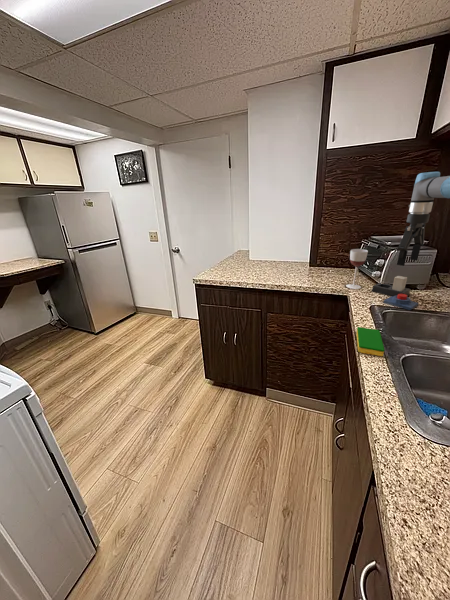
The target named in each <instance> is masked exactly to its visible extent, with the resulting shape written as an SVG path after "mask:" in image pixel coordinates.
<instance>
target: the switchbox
mask: <svg viewBox="0 0 450 600" xmlns="http://www.w3.org/2000/svg"><path fill="white" fill-rule="evenodd" d="M397 296H398V295H397ZM397 296H389V297H387V298H386V299H384V300H383V302H382V303H383V304H386V305H390V306H394V307H397V308H401V309H405V310H408V311H412V310H413V309H415V308H416V307H417V306H419V302H417V301H412V300H411V298H410V297H408V296H407V299H406V300H401V299H398V298H397Z"/></svg>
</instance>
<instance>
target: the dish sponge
mask: <svg viewBox="0 0 450 600" xmlns="http://www.w3.org/2000/svg"><path fill="white" fill-rule="evenodd" d="M356 339H357V340H356V343H357V352H358V353H361V354H367V355H373V356H378V357H384V354H385V347H384V343H383V338H382V334H381V331H380V329H376V328H370V327H369V328H368V327H361V326H357V327H356Z"/></svg>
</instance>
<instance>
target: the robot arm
mask: <svg viewBox="0 0 450 600" xmlns="http://www.w3.org/2000/svg"><path fill="white" fill-rule="evenodd" d="M435 199H450V175H447V176H441V172H440V171H428V172H427V171H426V172H421V173H418V174H417V175H416V178H415V181H414V183H413V190H412V195H411V200H410V204H408V214H407V217H406V220H405V221H406V222H405V223H407V224H410V225H409V226H405V229H404V233H403V235H402V238H401V239H400V242H399V245H398V247H397V251H399V253H398V257H397V262H396V265H397V266H402V267H404V266H405V264H406V261H407V256H408V251H409V250H408V249H409V247H410V245H411V243H412V241H413V245H412V249H411V253H410V258H409V260H410V261H418V259H419V256H420V251H421V248H422V247H423V246H424V245H425V233H426V231H425V230H426V225H427V223H429V220H430V216H431V214H430V213H431V212H432V209H433V204H434V201H435Z"/></svg>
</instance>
